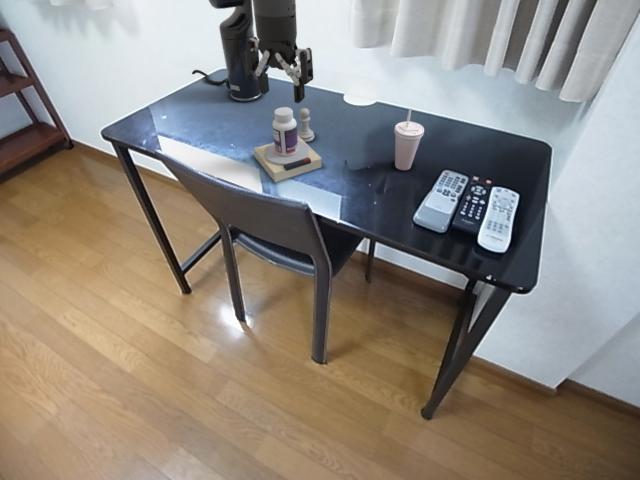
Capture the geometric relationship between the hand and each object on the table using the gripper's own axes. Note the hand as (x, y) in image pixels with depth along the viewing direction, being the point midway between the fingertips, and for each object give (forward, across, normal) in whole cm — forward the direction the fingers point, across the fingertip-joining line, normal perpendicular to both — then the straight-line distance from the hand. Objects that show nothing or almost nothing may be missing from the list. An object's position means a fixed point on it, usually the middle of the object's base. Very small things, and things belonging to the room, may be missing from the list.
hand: (281, 97), depth 78 cm
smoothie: (+16, +25, +12) cm, 32 cm away
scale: (+16, 0, 0) cm, 16 cm away
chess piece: (+16, -2, +12) cm, 20 cm away
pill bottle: (+13, 0, 0) cm, 13 cm away
